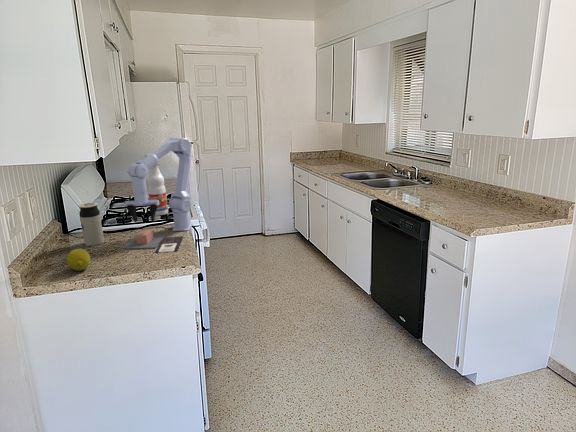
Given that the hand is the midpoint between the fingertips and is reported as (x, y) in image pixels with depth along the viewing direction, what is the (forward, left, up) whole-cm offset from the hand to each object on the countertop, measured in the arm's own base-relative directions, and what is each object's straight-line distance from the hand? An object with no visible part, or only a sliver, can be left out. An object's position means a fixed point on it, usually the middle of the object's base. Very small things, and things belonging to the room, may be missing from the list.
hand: (144, 221), depth 177 cm
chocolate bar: (+6, +12, -10) cm, 17 cm away
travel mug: (+1, -23, -10) cm, 25 cm away
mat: (+1, 0, -9) cm, 9 cm away
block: (+2, 0, -9) cm, 9 cm away
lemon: (+30, -15, -10) cm, 35 cm away
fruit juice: (-46, -8, -10) cm, 47 cm away
